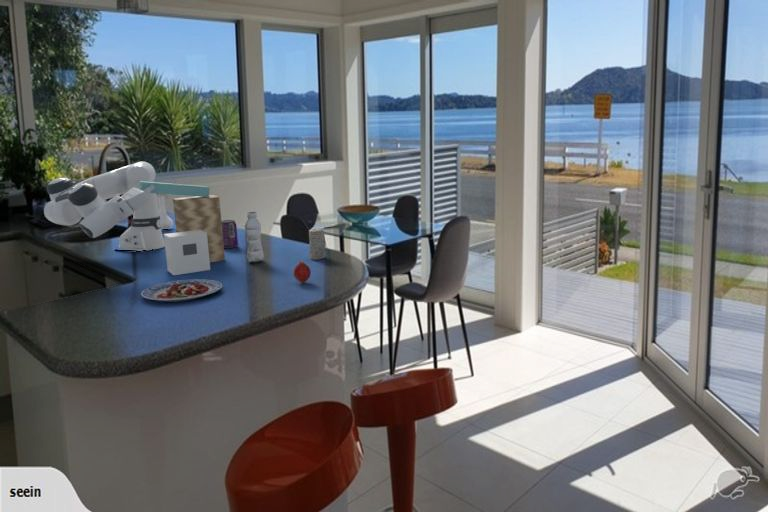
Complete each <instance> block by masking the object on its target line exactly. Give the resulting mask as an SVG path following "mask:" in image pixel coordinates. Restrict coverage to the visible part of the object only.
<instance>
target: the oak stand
mask: <svg viewBox="0 0 768 512" xmlns="http://www.w3.org/2000/svg"><path fill="white" fill-rule="evenodd" d="M220 201H221V200H220V196H217V195H214V194H209V197H201V196H187V197H177V198H176V197H175V198H174V197H173V198H172V204H173V206H172V207H173V215H174V224H175V231H176V232H175V233H177V232H185V231H193V230H202V231H204V232H206V233H207V239H208V250H209V260H210V263H215V262H223V261H225V260H226V256H225V248H224V243H223V233H222V222H221V221H222V213H221V203H220ZM222 260H223V261H222Z"/></svg>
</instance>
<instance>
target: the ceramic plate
mask: <svg viewBox="0 0 768 512" xmlns="http://www.w3.org/2000/svg"><path fill="white" fill-rule="evenodd" d="M222 288H223V284H222V283H221V282H220V281H217V280H215V279H214V280H213V279H200V278H192V279H182V280H181V279H180V280H173V281H167V282H163V283H158V284H155V285H152V286H149V287H147V288H146V289H143V290H142V291H141V297H142V298H145V299H147V300H152V301H161V302H167V303H168V302H170V303H173V302H176V303H177V302H185V301H192V300H196V299H201V298H203V297H206V296H207V295H210V294H211V295H212V294H214V293H216V292H218V291H220V290H221V289H222Z"/></svg>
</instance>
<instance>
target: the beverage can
mask: <svg viewBox="0 0 768 512" xmlns="http://www.w3.org/2000/svg"><path fill="white" fill-rule="evenodd" d="M221 222H222V233H223V243H224V249H234V247H235V248H237V247H238V246H239V240H238V228H237V223H236V220H235V219H225V220H221Z"/></svg>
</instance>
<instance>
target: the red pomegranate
mask: <svg viewBox="0 0 768 512" xmlns="http://www.w3.org/2000/svg"><path fill="white" fill-rule="evenodd" d="M293 276H294V278H295V279H296V280H297V281H298V282H299V283H300V284H305V283H306V282H307V281H308V280H309V279H310V277H311V268H310V267H309V265H307V264H306V263H304V261H303V260H299V263H298V264H296V265H295V267H294V269H293Z"/></svg>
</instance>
